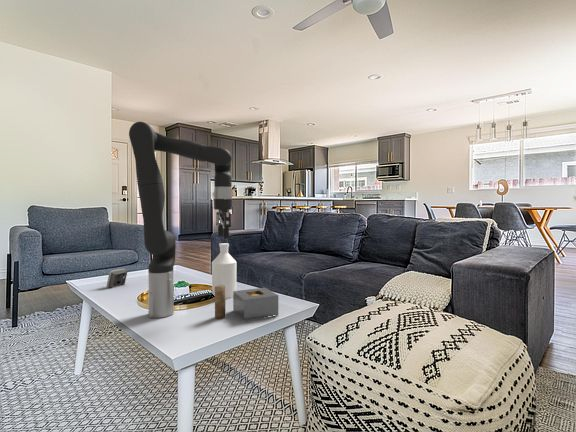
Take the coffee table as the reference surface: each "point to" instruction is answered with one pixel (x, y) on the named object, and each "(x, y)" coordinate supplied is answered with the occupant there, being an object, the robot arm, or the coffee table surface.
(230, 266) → the bottle
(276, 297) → the box
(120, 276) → the electrical switch
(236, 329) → the coffee table surface
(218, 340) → the coffee table surface
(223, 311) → the brown wooden block
